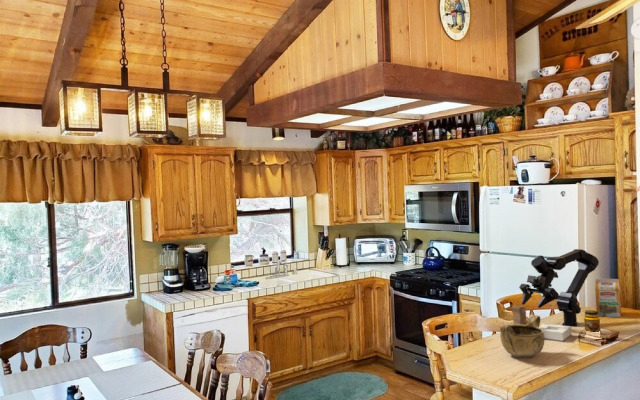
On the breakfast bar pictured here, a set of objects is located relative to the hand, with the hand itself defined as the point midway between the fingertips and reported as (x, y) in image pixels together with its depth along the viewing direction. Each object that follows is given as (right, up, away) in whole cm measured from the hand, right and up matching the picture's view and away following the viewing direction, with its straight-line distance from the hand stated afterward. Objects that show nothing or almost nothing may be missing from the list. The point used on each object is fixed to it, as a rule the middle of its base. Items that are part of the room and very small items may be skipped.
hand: (530, 305), depth 239 cm
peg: (-6, -14, -3) cm, 15 cm away
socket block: (+8, -13, -7) cm, 16 cm away
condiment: (+23, -12, -11) cm, 28 cm away
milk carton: (+51, -10, +25) cm, 58 cm away
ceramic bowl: (-16, -14, -31) cm, 37 cm away
